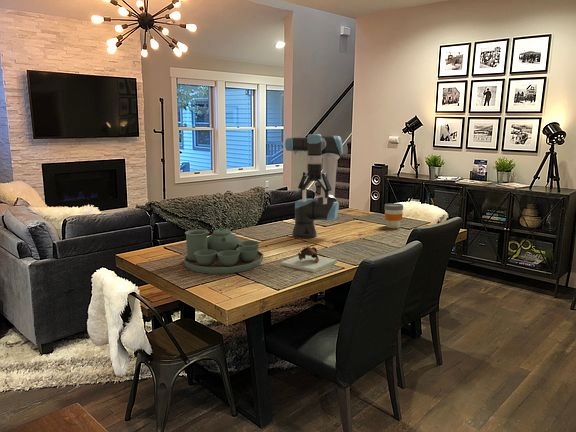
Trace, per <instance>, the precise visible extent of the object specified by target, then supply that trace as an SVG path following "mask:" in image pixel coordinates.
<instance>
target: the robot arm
mask: <svg viewBox="0 0 576 432" xmlns="http://www.w3.org/2000/svg"><path fill="white" fill-rule="evenodd" d="M284 148H285V150H286V151H287V152H304V153H307V163H308V164H307V171H303V172H302V176H301V179H300V182H299V184H298V187H297V188H298V189H300V190H301V193H300V195H301V197H302V199H298V200H295V202H294V204H295V205H294V216H295V217H294V227H293V230H292V233H291V234H292V237H293V238H295V239H312V238H315V237H316V238H317V231H316V230H317V229H316V226H315V223H314V222H315V221H328V222H329V221H336V219H337V217H338V214H339V209H340V207H339V206H340V203H339V201H337V198H336V197H335V193H336V191H335V190H336V180H337V179H336V178H337V167H338V160H339V159H340V158H341V156H342V155H343V154H344V148H343V141H342V138H341V136H339V135H322V134H320V133H313V134H312V133H311V134H310V133H309V134H307V136H306V137H292V136H291V137H286V139H285V142H284ZM322 159H323V160H322ZM311 182H317V183H318V184H319V186H320V195H319V196H318V197H317V201H316V200H315V199H314V198H313V197H312V198H307V189H306V188H307V187H308V186H309V184H310V183H311Z"/></svg>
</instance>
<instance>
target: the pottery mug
mask: <svg viewBox="0 0 576 432" xmlns="http://www.w3.org/2000/svg"><path fill="white" fill-rule="evenodd" d="M299 251H300V252H298V253H297V256H299V259H300V260H302V259H303V258H304V259H306V258H305V257H306V255H307V256H311V257H312V258H315V257H316V259H315V261H316V263H318V262H319V259H318V256H319V255H318V250H317V248H316V247H315V246H313V247H310V246H307V247H304V248H303V249H302V250H299Z"/></svg>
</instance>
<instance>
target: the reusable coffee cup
mask: <svg viewBox="0 0 576 432" xmlns="http://www.w3.org/2000/svg"><path fill="white" fill-rule="evenodd" d="M383 209H384V220H385V224H386V228H389V229H398V228H400V227H401V222H402V220H403V211H404V205H403V204H402V203H397V202H396V203H392V202H391V203H385V204H384V208H383Z"/></svg>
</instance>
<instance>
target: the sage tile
mask: <svg viewBox="0 0 576 432" xmlns="http://www.w3.org/2000/svg"><path fill="white" fill-rule="evenodd" d="M317 256H318V259H319V262H318V263H316V261H315V259H316V257H315V258H312V257H311V256H307V255H306V257H305V258H306V259H304V258H303V259H302V260H300V259H299V255H296V256H294V257H291V258H289V259H286V260H284V261H280V265H281V266H284V267H289V268H293V269H298V270H302V271H306V272H311V273H316V272H318V271H321V270H323V269H325V268H328V267H329V266H332V265H334V264H336V263H338V260H337V259H336V258H331V257H324V256H320V255H317Z"/></svg>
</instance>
